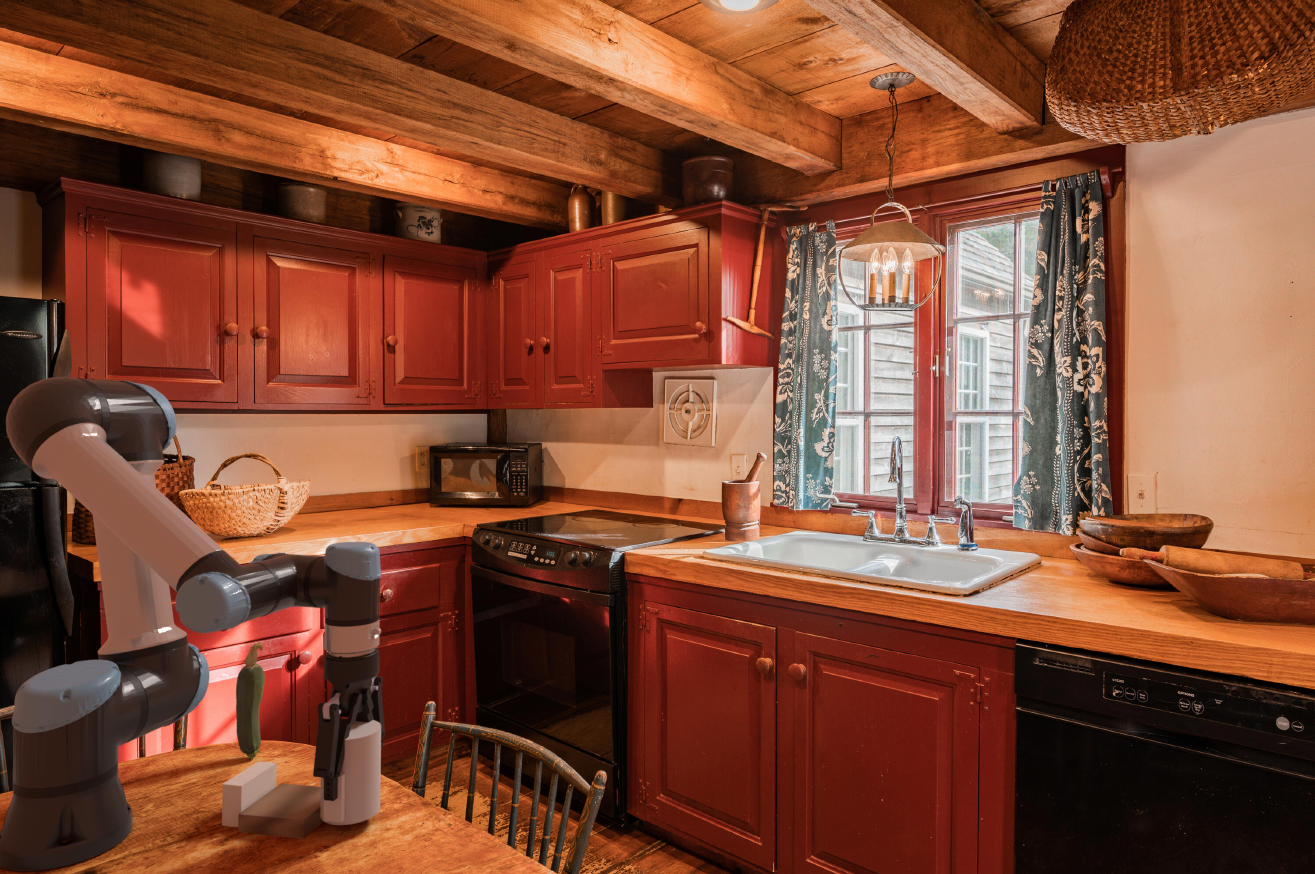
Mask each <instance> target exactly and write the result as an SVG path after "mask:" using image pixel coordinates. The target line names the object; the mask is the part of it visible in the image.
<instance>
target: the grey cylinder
mask: <svg viewBox="0 0 1315 874" xmlns="http://www.w3.org/2000/svg"><path fill="white" fill-rule="evenodd" d="M381 740H382V738H381V724H380V723H379V722H377V721H375V720H372V721H371V722H357V721H355V724H354V725H352V726H351V728H350V733H349V737H348V738H347V739H345V757H344V761H343V766H342V771H341V773H342V774H345V816H344V821H343V822H331V821H324V778H321V777H320V787H321V802H320V817H321V819H322V820H323V823H326V824H329V825H336V826H344V825H345V826H346V825H353V824H357V823H361V822H365V821H367V820H370V819H371V818H373V817H374V816H376V815H378V813H379V812H380V809H381V778H382V777H381V773H382V772H381V771H382V770H381V769H382V768H381V767H382V765H381V762H382V761H381V760H382V758H381V757H382V756H381V755H382V752H381V751H382V747H381Z"/></svg>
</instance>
